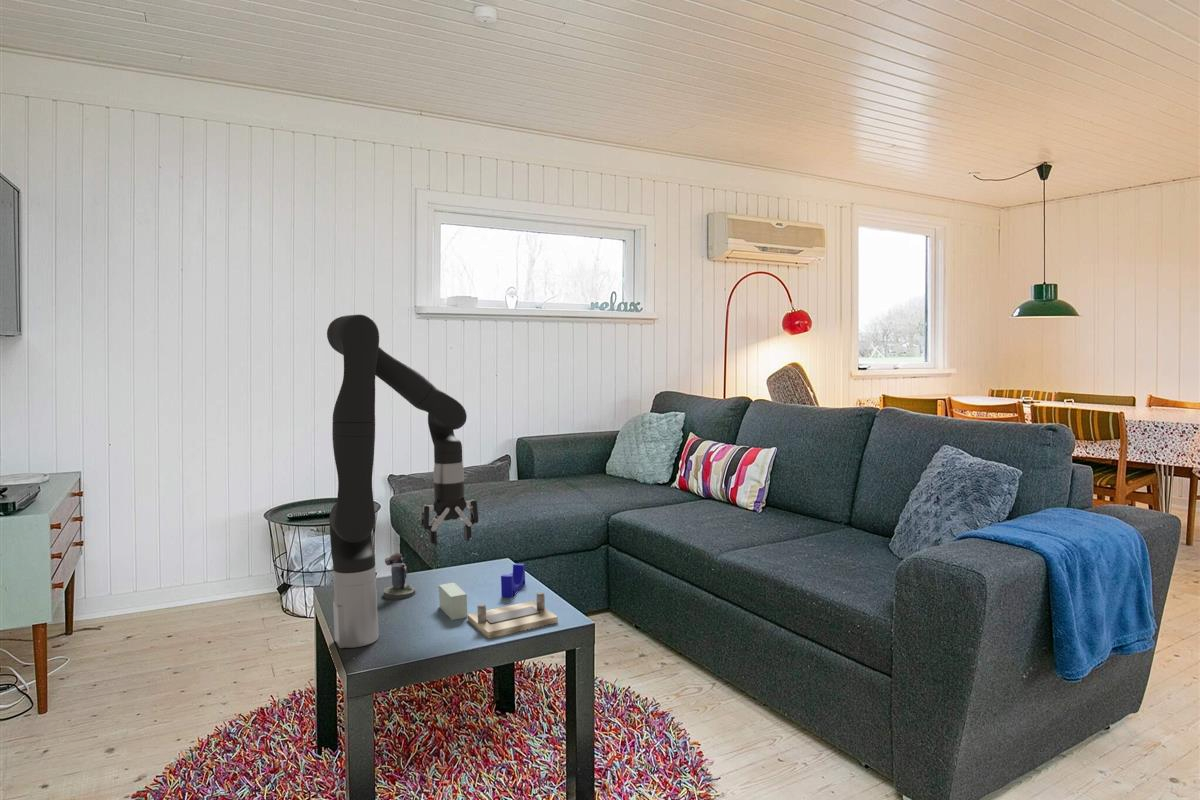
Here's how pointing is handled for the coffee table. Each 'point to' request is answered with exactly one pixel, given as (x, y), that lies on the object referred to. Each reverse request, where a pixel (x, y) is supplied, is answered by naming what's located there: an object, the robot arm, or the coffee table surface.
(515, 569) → the blue piece
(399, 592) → the figurine
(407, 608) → the coffee table surface
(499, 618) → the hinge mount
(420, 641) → the coffee table surface
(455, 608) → the door block
